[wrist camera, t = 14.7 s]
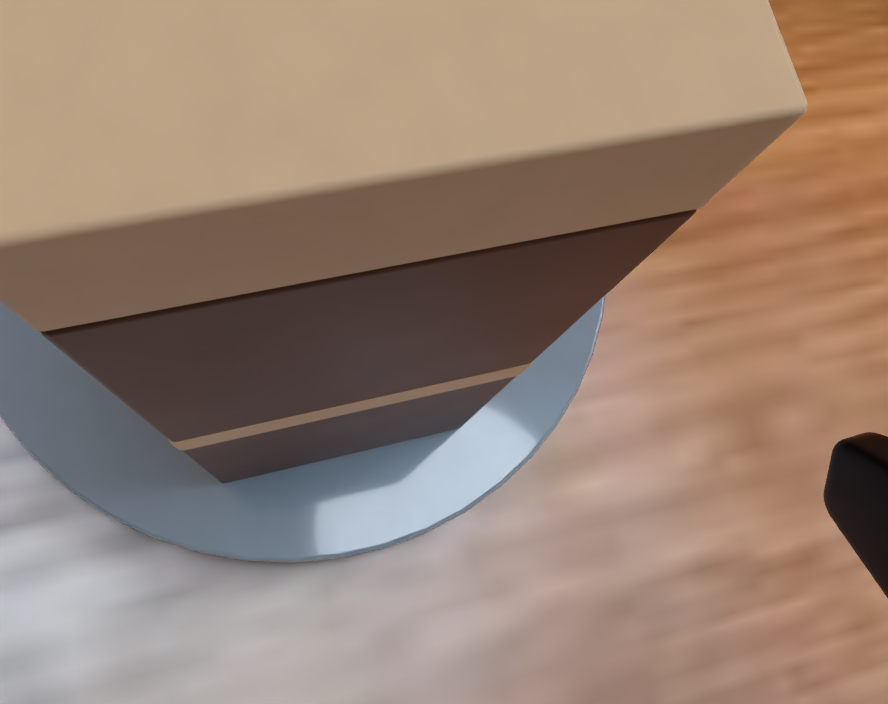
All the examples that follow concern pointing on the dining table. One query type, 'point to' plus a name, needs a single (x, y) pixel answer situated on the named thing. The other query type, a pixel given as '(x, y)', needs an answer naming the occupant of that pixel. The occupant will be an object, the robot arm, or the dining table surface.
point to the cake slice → (354, 195)
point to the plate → (286, 491)
